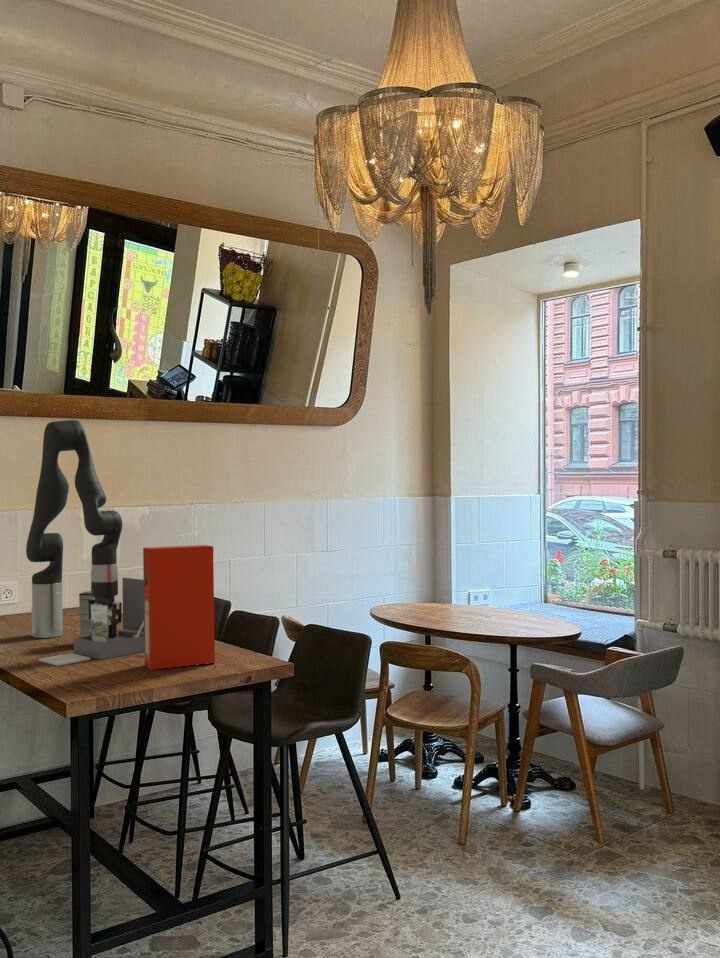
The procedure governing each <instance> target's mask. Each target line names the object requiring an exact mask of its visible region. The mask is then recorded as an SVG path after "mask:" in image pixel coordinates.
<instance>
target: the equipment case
mask: <svg viewBox="0 0 720 958" xmlns="http://www.w3.org/2000/svg"><path fill="white" fill-rule="evenodd" d="M121 582H122V584H121V585H122V630H118V640H115V641H109V642H103V643H100V642H95V641H92V636H91V635H89V636H83V637H80V636H76V637H74V638H73V654H77V655H81V656H85V657H89V658H92V659H97V660H99V661H100V660H105V659H111V658H116V657H121V656H122V657H123V656H129V655H133V654H139V653H143V652H144V653H145V650H144V579H142V578H141V579H140V578H133V577H122V581H121Z"/></svg>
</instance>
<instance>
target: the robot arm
mask: <svg viewBox="0 0 720 958" xmlns="http://www.w3.org/2000/svg"><path fill="white" fill-rule="evenodd" d="M44 428H45V429H44V431H43V440H42V456H41V465H40V467H41V468H40V475H39V478H38V479H39V480H38V484H37V490H36V495H35V501H34V502H35V503H34V511H33V516H32V519H31V524H30V529H29V532H28V536H27V540H26V546H25V548H26V549H25V554H26V558H27V560H28V561H29V562H31V563H46V562H49V565H47V567H45V568H43V569H42V570H40V571H38V572H36V573H34V574H32V575H31V598H32V599H31V604H32V605H31V636H32V637H33V638H39V639H42V638H43V639H49V638H57V637H60V636H64V635H63V632H64V631H63V621H64V620H63V558H64V555H63V554H64V541H63V540H64V539H63V537H62V535H61V534H60V533H59V532H49V533H48V532H47V533H45V531H46V529H47V528H48V527H49V525H50V524H51V523H52V522H53V521H54V520H55V519H56V518H58V516H59V515H60V514H61V513H62V512H63V510H64V509H65V507H66V504H67V502H68V496H69V492H70V491H69V489H70V485H69V482H68V479H67V478H66V476H65V474H64V473H63V471H62V469H61V468H60V465H59V462H58V461H59V455H60V453H62V452H68V451H69V452H70V451H74V452H75V453H76V455H77V459H78V464H77V469H76V472H75V477H74V487H75V489H76V493H77V495H78V498H79V501H80V502H81V504H82V512H83V521H84V522H83V523H84V528H85V530H86V531H87V532H88V533H89V534H90V535H92V536H103V538H102V540H101V541H100V542H98V543H96V544H93V546H92V547H91V569H90V591H91V595H92V596H93V597H95V599H89V600H88V611H89V619H91V605H93V604H100V605H102V606H103V605H108V607H109V609H110V607H111V611H112V614H108V615H106V617H108V624H109V625H108V637H109V638H115V637H116V634H117V631H116V625H117V624H118V625H119V623H120V624H121V623H122V622H123V602H121V601H116V599H115V596H118V594H119V581H118V579H119V571H118V558H117V557H118V556H117V555H118V554H117V553H118V552H117V551H118V550H117V549H118V545H119V543H120V538H121V534H122V530H123V520H122V517H121V514H120V513H119V511H117V510H100V508H102V507H103V506H104V505H105V504H106V503H107V496H106V494H105V491H104V488H103V487H102V484H101V482H100V479H99V477H98V474H97V471H96V469H95V466H94V465H95V464H94V461H93V460H94V459H93V456H92V452H91V447H90V444H89V441H88V437H87V433H86V431H85V428H84V426H83V424H82V423H81V422H80V421H79V420H78V419H77V420H76V419H67V420H54V421H51V422H48V423H47V424H46V426H45V427H44ZM117 615H118V619H117V617H116V616H117ZM111 618H112V621H111Z"/></svg>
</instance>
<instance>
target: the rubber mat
mask: <svg viewBox="0 0 720 958" xmlns="http://www.w3.org/2000/svg"><path fill="white" fill-rule="evenodd" d="M90 660H91V657H87V656H83V655H79V654H74V653H72V652H70V653H65V654H59V655H53V656H48V657H42V658H38V662H42V663H46V664H49V665H54V666H62V665H63V666H64V665H68V664H73V663H74V664H75V663H80V662H84V661H85V662H86V661H90Z"/></svg>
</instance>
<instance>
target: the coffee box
mask: <svg viewBox="0 0 720 958" xmlns="http://www.w3.org/2000/svg"><path fill="white" fill-rule="evenodd" d="M78 596H79V598H78V600H79V637H83V636H89V635H91V619H89V611H88V600H89V599H95V597H93V596H92V595H91V590H89V591H83V592H81V593H79V595H78Z"/></svg>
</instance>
